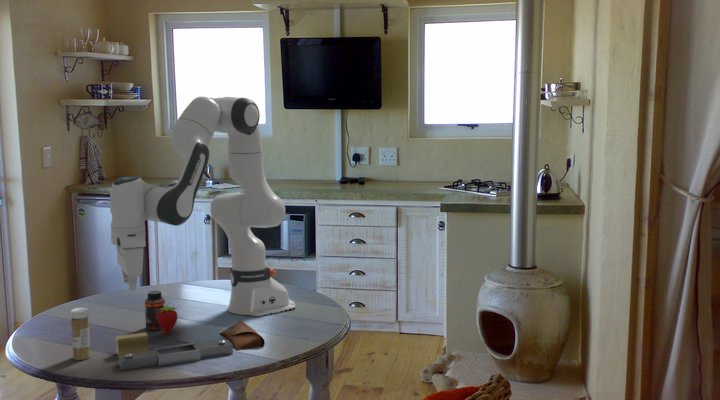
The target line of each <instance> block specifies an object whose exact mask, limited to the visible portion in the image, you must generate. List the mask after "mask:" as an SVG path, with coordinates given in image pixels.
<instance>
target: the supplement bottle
mask: <svg viewBox="0 0 720 400" xmlns="http://www.w3.org/2000/svg"><path fill="white" fill-rule="evenodd" d="M164 306H166V299H165V298H164V297H162V291H161V290H150V291H148V292H147V298H146V299H145V301H144V311H145V312H144V314H145V329H146V330H149V331H159V330H162V328H161V327H160V325H159V323H158V320H157V314H158V313H159V311H161V310H159V309H160V308H164Z"/></svg>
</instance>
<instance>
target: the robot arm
mask: <svg viewBox="0 0 720 400" xmlns="http://www.w3.org/2000/svg"><path fill="white" fill-rule="evenodd" d="M260 115H261V114H260V110H259V107H258V105H257V103H256V102H255V101H254V100H253V99H250V98H247V97H235V96H224V97H215V98H213V97H208V96H197V97H195V98H193V99H192V100H191V102H190V103H189V104H188V105H187V106H186V107H185V109H184V110H183V111H182V113H181V115H179V117H178V118H177V120H176V122H175V125H174V126H173V128H172V129H171V132H170V136H169V140H170V144H171V147H172V149H173V150H174V151H175V153H176V154H178V155H179V156H180V157H181V158H182V159H184V160H185V161H184V164H183V167H182V170H181V172H180V174H179V177H178V180H177V182H176V184H175V185H173V186H171V187H162V186H161V187H160V186H155V185H152V184H150V183H147V182H145V181H144V180H143V179H142V177H140V176H137V175H129V176H122V177H118V178H116V179H114V181H112V184H111V188H110V192H109V193H110V194H109V195H110V196H109V206H110V207H109V210H110V214H111V223H110V241H111V244H112V245H114V246H116V247H115V248H116V252H117V253H116V257H117V258H116V260H117V261H116V262H117V264H118V265H119V266H120V268H121V272H122V281H123V283H124V284H128V285H127V286H128V290H129V291H130V292H134V291H137V282H138V277H141V276H142V275H143V267H144V247H146V245H147V244H146V242H147V241H146V224H145V223H146V222H145V221H150V222H157V223H163V224H167V225H171V226H175V227H177V226H182V225H183V224H184V223H187V221H188V219H190V217H191V215H192V213H193V211H194V205H195V200H196V197H197V194H198V191H199V188H200V186H201V185H200V184H201V183H202V180H203V177H204V174H205V171H206V169H207V166H208V163H209V159H210V150H209V148H208V147H209V144H210V142H211V139H212V138H213V136H214V134H215V133H222V134H223V133H224V134H227V136H228V140H227V141H228V142H227V143H228V144H227V147H228V148H227V150H228V151H227V153H228V156H227V157H228V172H229V176H230V178H231V179H232V180H233V181H234V182H236V183H237V184H238V185H240V186H241V187H242V189H243V191H244V193H242V192H241V193H239V192H229V193H222V194H217V195H216V196H215V197H214V198H213V200H212V202H211V204H210V215H211V217H212V220H213V221H214V222H215V223H217V224H218V225H219V226H220V227H221V229H222V230H223V231H224V233H225V234H226V237H227V239H228V243H229V245H230V253H231V267H230V277H229V278H230V279H229V280H230V285H231V291H230V292H231V293H230V298H229V299H230V300H229V302H228V303H229V304H228V306H227V307H228V308H227V311H228V312H229V313H232V314H233V315H242V316H244V315H245V316H250V317H251V316H252V317H261V316H265V315H271V313H272V314H276V313H282V312H286V311H285V310H287V311H290V310H289V309H292V310H294V309H293V308H295V306H296V303H295V301H293V300H292V299H290V298H289V293H288V290H287V289H286V287H285V286H284V285H282V284H281V283H280V282H278V281H277V280H275V279H274V278H273V277H274V276H275V275H276V274H277V272H276V270H275V269H273V268H270V267H268V266H266V246H265V244H264V242H263V241H262V240H261V239H259V238H258V237H257V236H255V235H254V233H253V231H252V230H251V228H257V229H258V228H260V229H261V228H262V229H267V228H275V227H278V226H280V225H281V224H282V222H283V221H284V219H285V217H286V206H285V203H284V201H283V199H281V198H280V197H279V196H278V195H277V194H276V193H275V192H274V191H273V190H272V188H271V187H270V185H269V184H268V181H267V178H266V175H265V169H264V168H265V167H264V158H263V155H264V154H263V141H262V133H261V130H260V124H259V123H260ZM295 309H296V308H295ZM281 311H282V312H281Z"/></svg>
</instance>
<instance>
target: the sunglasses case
mask: <svg viewBox="0 0 720 400" xmlns="http://www.w3.org/2000/svg"><path fill="white" fill-rule="evenodd" d="M218 334H219V335H220V336H221V337H223V338H224V339H225V340H227V339H228V340H229V341H230V342H231V343H232V344H233V348H234V349H235V351H243V350H249V349H250V350H251V349H256V348H263V347H265V345H266V344H265V338H263V336H261V334H259V333H258V331H256V330H255V329H253V328H252V327H251V326H249V325H248V324H247V323H245V322H244V321H243V320H242V319H239V320H238V322H236V323H234V324H233V325H231V326H229V327H227V328H225V329H224V330H223V331H220V332H219V333H218Z"/></svg>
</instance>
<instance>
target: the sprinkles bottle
mask: <svg viewBox="0 0 720 400" xmlns="http://www.w3.org/2000/svg"><path fill="white" fill-rule="evenodd" d="M69 315H70V318H71V339H72V341H71V342H72V343H71V345H72V359H73V360H74V361H75V360H76V361H83V360H86V359H89V358H90V357H91V353H90V352H91V351H90V350H91V349H90V344H91V343H90V340H91V339H90V326H89V325H90V324H89V316H90V311H89V309H88V308H87V307H76V308H73V309H71V310H70V313H69Z"/></svg>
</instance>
